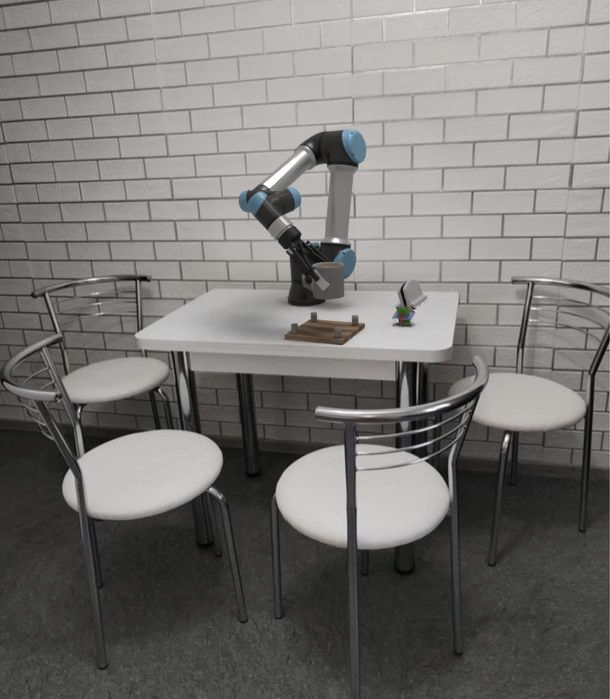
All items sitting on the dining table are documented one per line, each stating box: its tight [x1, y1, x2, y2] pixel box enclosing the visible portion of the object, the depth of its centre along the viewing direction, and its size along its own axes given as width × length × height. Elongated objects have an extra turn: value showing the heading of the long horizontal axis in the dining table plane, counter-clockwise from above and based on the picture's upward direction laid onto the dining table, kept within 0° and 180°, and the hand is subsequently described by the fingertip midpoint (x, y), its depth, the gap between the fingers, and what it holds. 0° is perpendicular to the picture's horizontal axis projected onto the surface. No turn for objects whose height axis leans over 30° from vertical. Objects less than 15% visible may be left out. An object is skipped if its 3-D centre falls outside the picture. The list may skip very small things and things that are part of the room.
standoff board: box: [284, 311, 366, 346], centre depth 197 cm, size 20×20×4 cm
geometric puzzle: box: [391, 305, 416, 326], centre depth 202 cm, size 7×7×8 cm
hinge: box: [397, 279, 428, 309], centre depth 229 cm, size 17×5×10 cm, turn 153°
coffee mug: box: [302, 262, 345, 301], centre depth 192 cm, size 13×10×10 cm
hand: (332, 284), depth 191 cm, fingers closed on coffee mug, 9 cm apart
